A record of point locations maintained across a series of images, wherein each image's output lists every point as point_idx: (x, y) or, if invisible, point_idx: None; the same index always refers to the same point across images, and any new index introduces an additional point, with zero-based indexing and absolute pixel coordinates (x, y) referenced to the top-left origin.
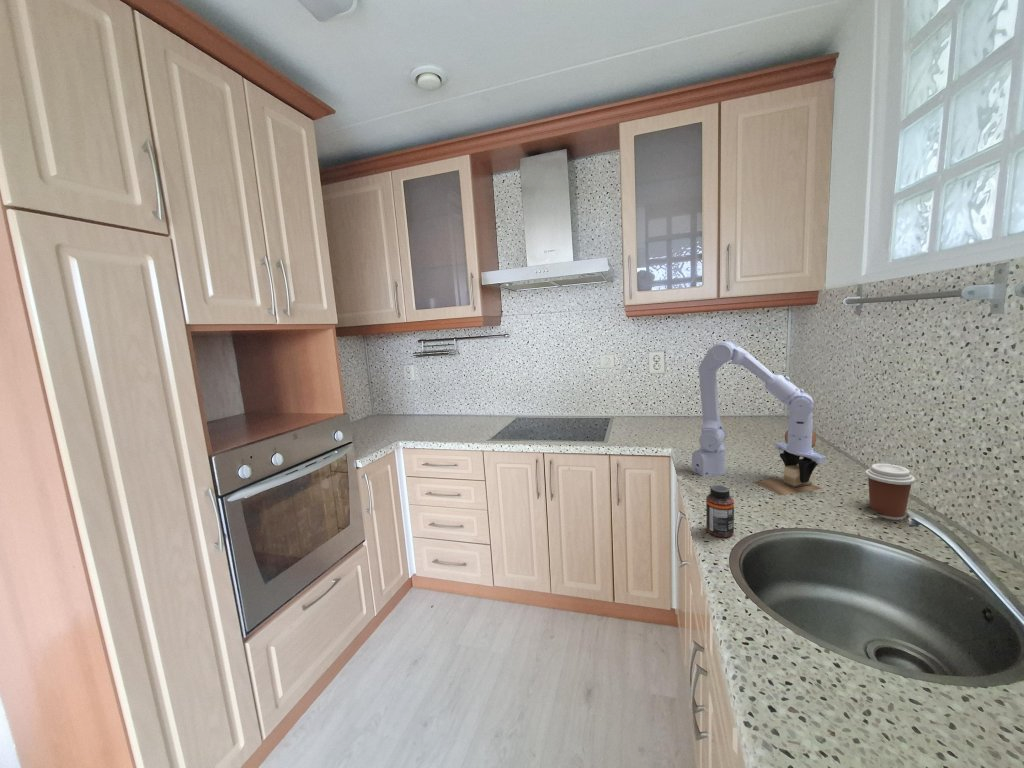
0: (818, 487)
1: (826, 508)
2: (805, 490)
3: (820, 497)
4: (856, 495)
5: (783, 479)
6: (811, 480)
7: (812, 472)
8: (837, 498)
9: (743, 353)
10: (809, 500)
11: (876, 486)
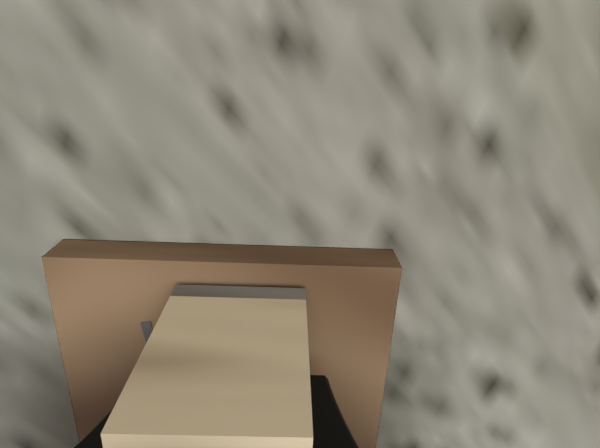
0: (368, 277)
1: (576, 435)
2: (371, 412)
3: (449, 336)
4: (587, 21)
5: (110, 384)
6: (305, 320)
7: (308, 380)
8: (527, 244)
9: None
10: (446, 430)
11: None
